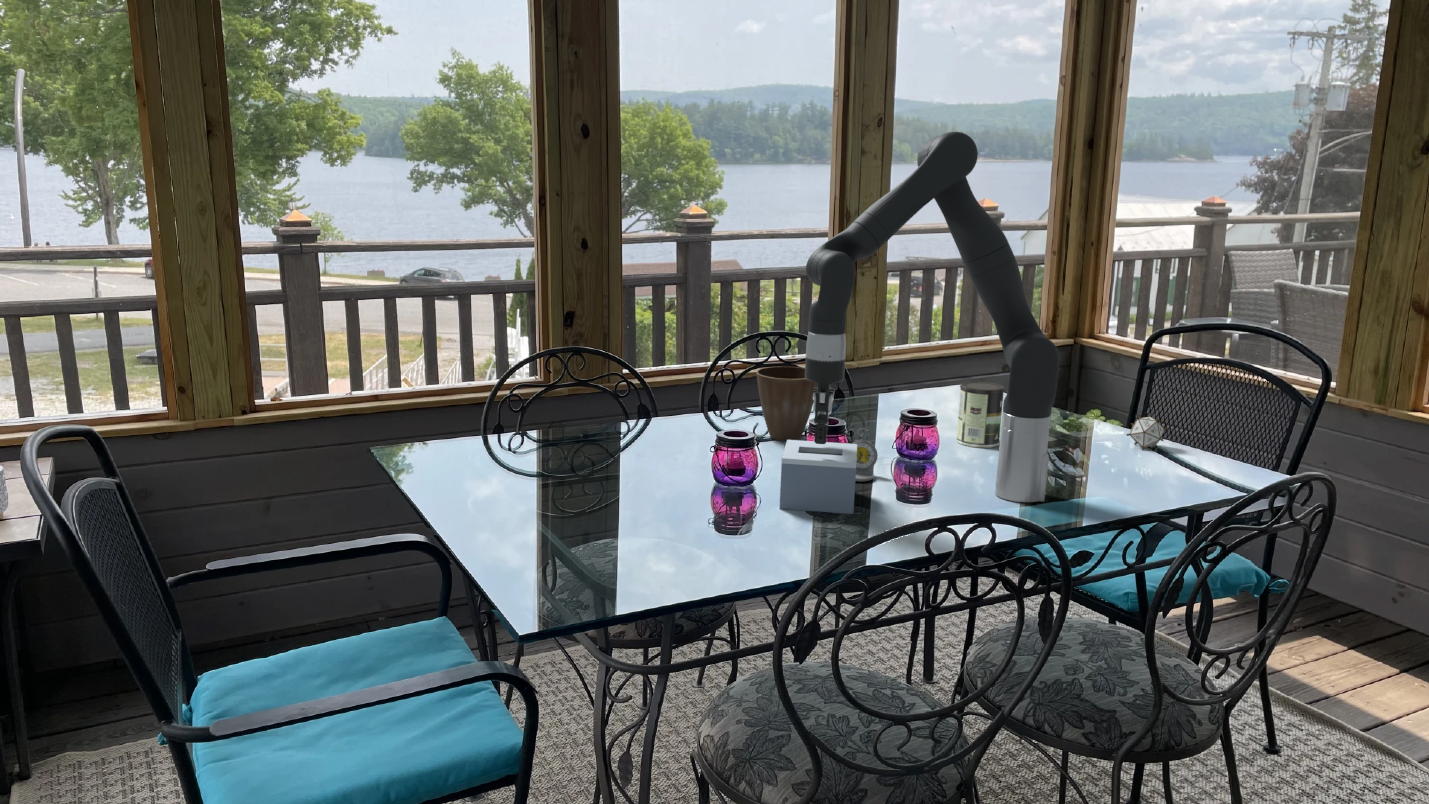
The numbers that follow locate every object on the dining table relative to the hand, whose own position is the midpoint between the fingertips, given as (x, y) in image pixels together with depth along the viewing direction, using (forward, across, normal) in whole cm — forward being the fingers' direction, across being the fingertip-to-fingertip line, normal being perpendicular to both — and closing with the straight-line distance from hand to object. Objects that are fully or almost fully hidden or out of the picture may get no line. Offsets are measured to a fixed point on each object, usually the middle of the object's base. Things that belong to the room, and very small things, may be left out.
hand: (821, 438), depth 205 cm
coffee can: (+13, +54, -36) cm, 66 cm away
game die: (+13, +59, -76) cm, 97 cm away
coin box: (+13, 0, 0) cm, 13 cm away
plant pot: (+13, +47, +10) cm, 50 cm away
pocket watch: (+13, +18, -8) cm, 23 cm away
